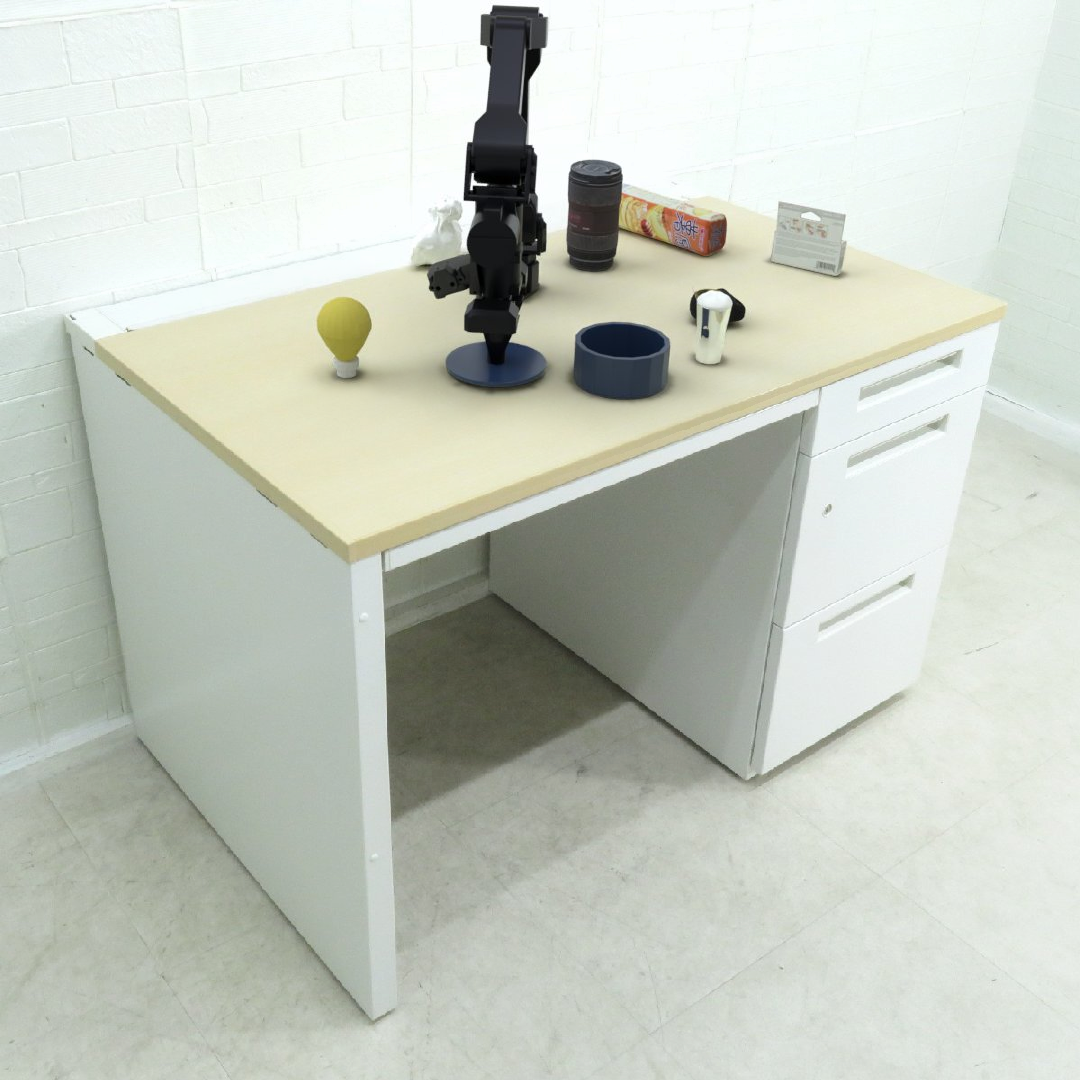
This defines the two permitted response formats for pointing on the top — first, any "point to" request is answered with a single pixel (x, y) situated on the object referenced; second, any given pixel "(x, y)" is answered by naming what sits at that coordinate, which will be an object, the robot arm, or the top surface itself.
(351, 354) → the light bulb
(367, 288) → the top surface
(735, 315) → the tape measure
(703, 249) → the snack package
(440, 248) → the bust
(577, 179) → the camera lens
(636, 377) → the tin
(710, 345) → the milkshake
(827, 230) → the ink cartridge box
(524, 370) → the tin lid
